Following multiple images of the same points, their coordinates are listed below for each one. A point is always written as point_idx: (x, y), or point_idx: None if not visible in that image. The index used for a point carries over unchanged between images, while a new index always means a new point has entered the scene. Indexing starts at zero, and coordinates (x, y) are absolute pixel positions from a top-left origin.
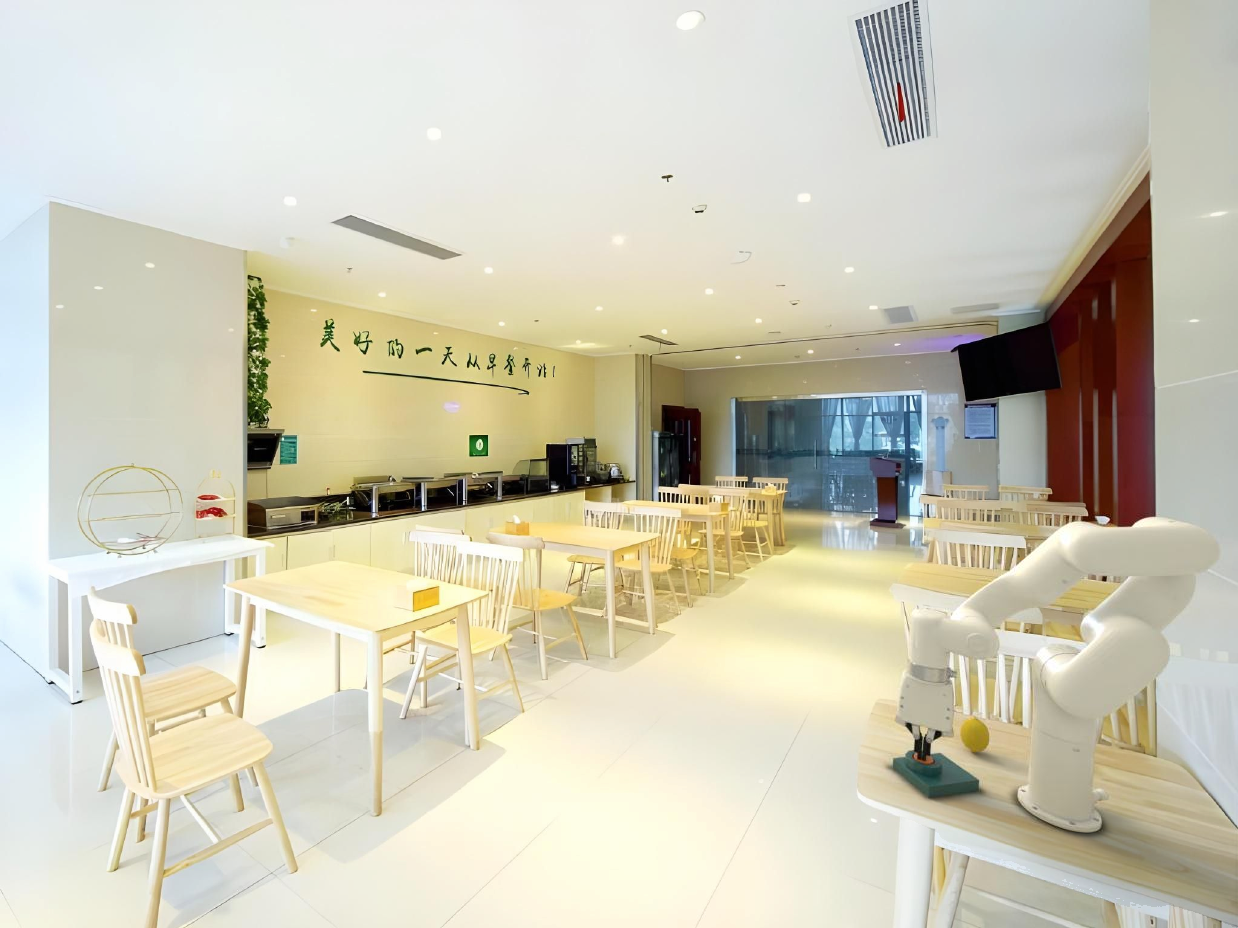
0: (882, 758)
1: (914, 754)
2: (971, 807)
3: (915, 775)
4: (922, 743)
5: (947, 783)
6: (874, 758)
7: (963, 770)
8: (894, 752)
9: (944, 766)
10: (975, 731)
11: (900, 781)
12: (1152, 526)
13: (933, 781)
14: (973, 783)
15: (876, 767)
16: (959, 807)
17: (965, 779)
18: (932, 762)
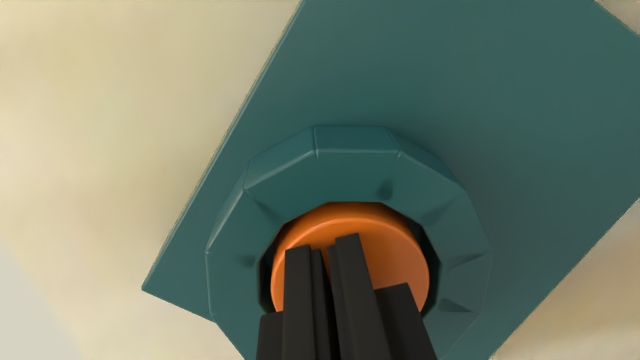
0: (53, 183)
1: (277, 301)
2: (614, 294)
3: None
4: (325, 306)
5: (519, 316)
6: (22, 225)
7: (614, 45)
8: (51, 19)
9: (472, 108)
10: None
11: None
12: None
13: (443, 357)
14: None
15: (96, 310)
16: (559, 336)
17: (627, 180)
18: (424, 291)
